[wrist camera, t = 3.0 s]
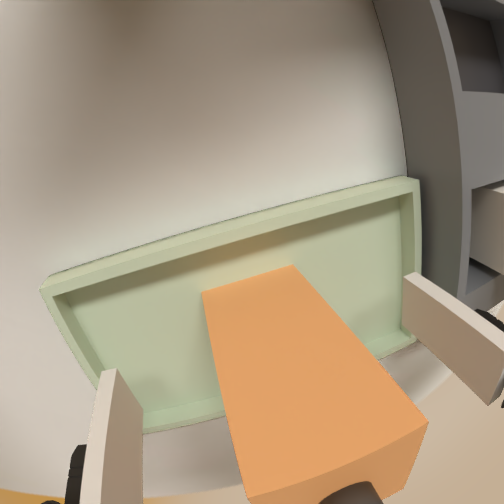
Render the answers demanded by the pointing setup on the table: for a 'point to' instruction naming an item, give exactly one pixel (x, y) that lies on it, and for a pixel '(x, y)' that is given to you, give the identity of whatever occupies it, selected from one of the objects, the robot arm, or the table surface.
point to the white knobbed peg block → (488, 225)
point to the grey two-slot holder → (450, 127)
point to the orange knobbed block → (306, 397)
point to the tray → (231, 270)
